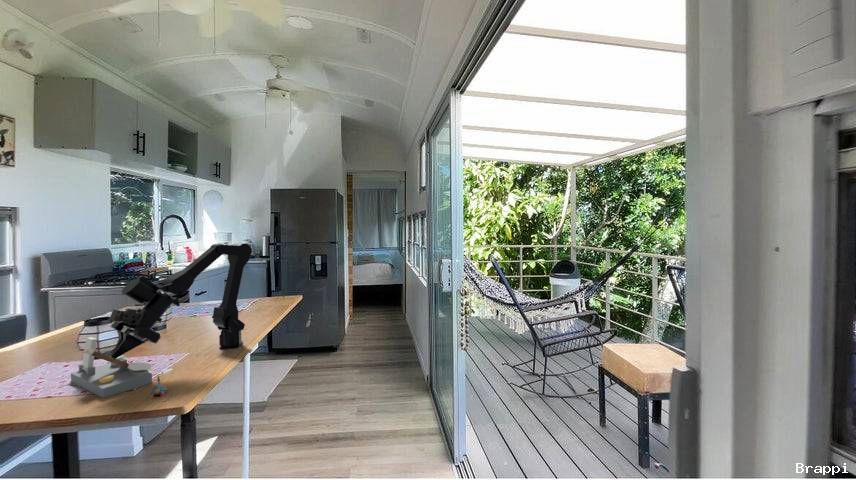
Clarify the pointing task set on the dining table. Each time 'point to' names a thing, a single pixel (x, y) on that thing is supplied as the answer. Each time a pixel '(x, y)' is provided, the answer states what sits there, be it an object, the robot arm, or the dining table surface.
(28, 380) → the dining table surface
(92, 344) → the lever grey
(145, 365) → the rocker
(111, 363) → the button
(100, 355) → the paddle walnut
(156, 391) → the bomb figurine
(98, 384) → the console
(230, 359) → the dining table surface
